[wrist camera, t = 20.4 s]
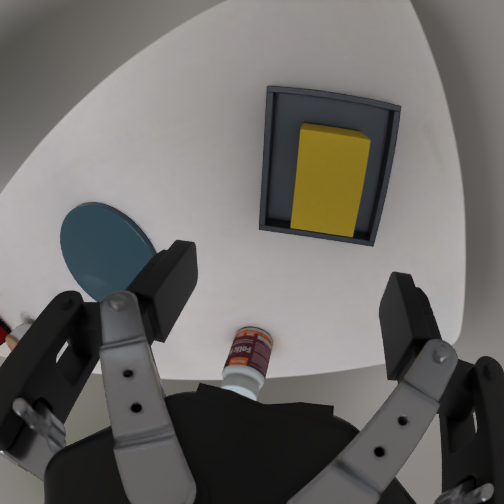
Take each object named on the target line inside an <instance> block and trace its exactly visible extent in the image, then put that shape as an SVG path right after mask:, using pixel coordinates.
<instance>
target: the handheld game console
mask: <svg viewBox="0 0 504 504" xmlns="http://www.w3.org/2000/svg"><path fill="white" fill-rule="evenodd" d="M11 332H12V331H11V330H10V329H9V328H8V327H7V326H6V325H5V324H4V323H3V322H2V321H1V320H0V345H2V344H3V343H4V342H6V336H7V335H9V334H10V333H11Z"/></svg>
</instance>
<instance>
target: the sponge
mask: <svg viewBox="0 0 504 504" xmlns="http://www.w3.org/2000/svg"><path fill="white" fill-rule="evenodd" d="M370 142H371V140H370V139H369V138H368V137H367V136H366V135H364V134H363V133H362V132H361V131H360V130H357V129H351V128H345V127H339V126H332V125H326V124H318V123H311V122H303V125H302V127H301V129H300V139H299V150H298V161H297V171H296V181H295V190H294V200H293V209H292V218H291V227H290V228H294V229H301V230H308V231H315V232H321V233H328V234H335V235H341V236H348V237H353V233H354V229H355V224H356V220H357V215H358V210H359V205H360V200H361V195H362V190H363V184H364V179H365V173H366V167H367V161H368V155H369V149H370Z"/></svg>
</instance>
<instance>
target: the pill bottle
mask: <svg viewBox="0 0 504 504" xmlns="http://www.w3.org/2000/svg"><path fill="white" fill-rule="evenodd" d="M272 346H273V342H272V339H271V337H270V336H269V335H268V334H267V333H266V332H264V331H263V330H260V329H257V328H244V329H241V330H239V331H238V332H237V333H236V335H235V338H234V341H233V344H232V346H231V349H230V352H229V355H228V358H227V360H226V363H225V366H224V369H223V372H222V376H223V379H224V380H223V381H222V385H221V388H224V389H228V390H232V391H234V392H237V393H239V394H241V395H243V396H246V397H248V398H250V399H252V400H255V401H256V400H257V396H258V393H259V389H260V388H261V387H262V386H263V384H264V381H265V377H266V373H267V368H268V364H269V359H270V355H271V351H272Z"/></svg>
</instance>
